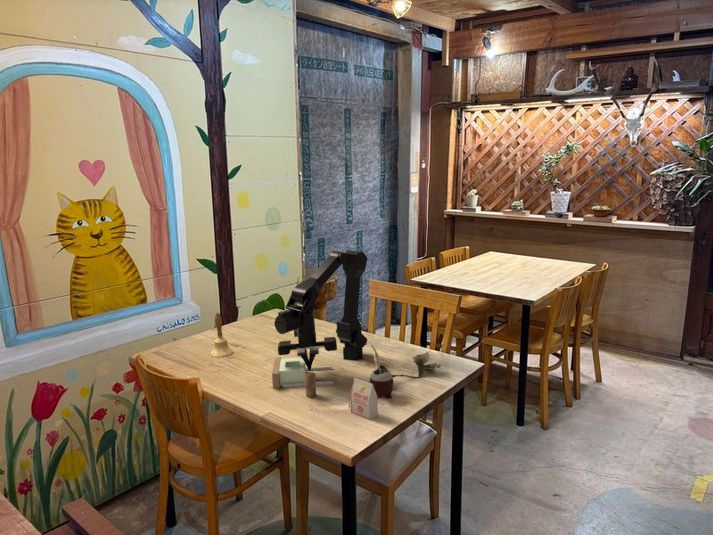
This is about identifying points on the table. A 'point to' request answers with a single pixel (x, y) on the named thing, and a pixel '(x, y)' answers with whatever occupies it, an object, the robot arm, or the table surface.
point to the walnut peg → (310, 385)
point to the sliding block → (292, 371)
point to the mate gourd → (382, 380)
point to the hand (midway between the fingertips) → (309, 370)
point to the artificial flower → (419, 365)
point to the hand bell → (220, 341)
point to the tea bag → (363, 399)
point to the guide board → (277, 383)
